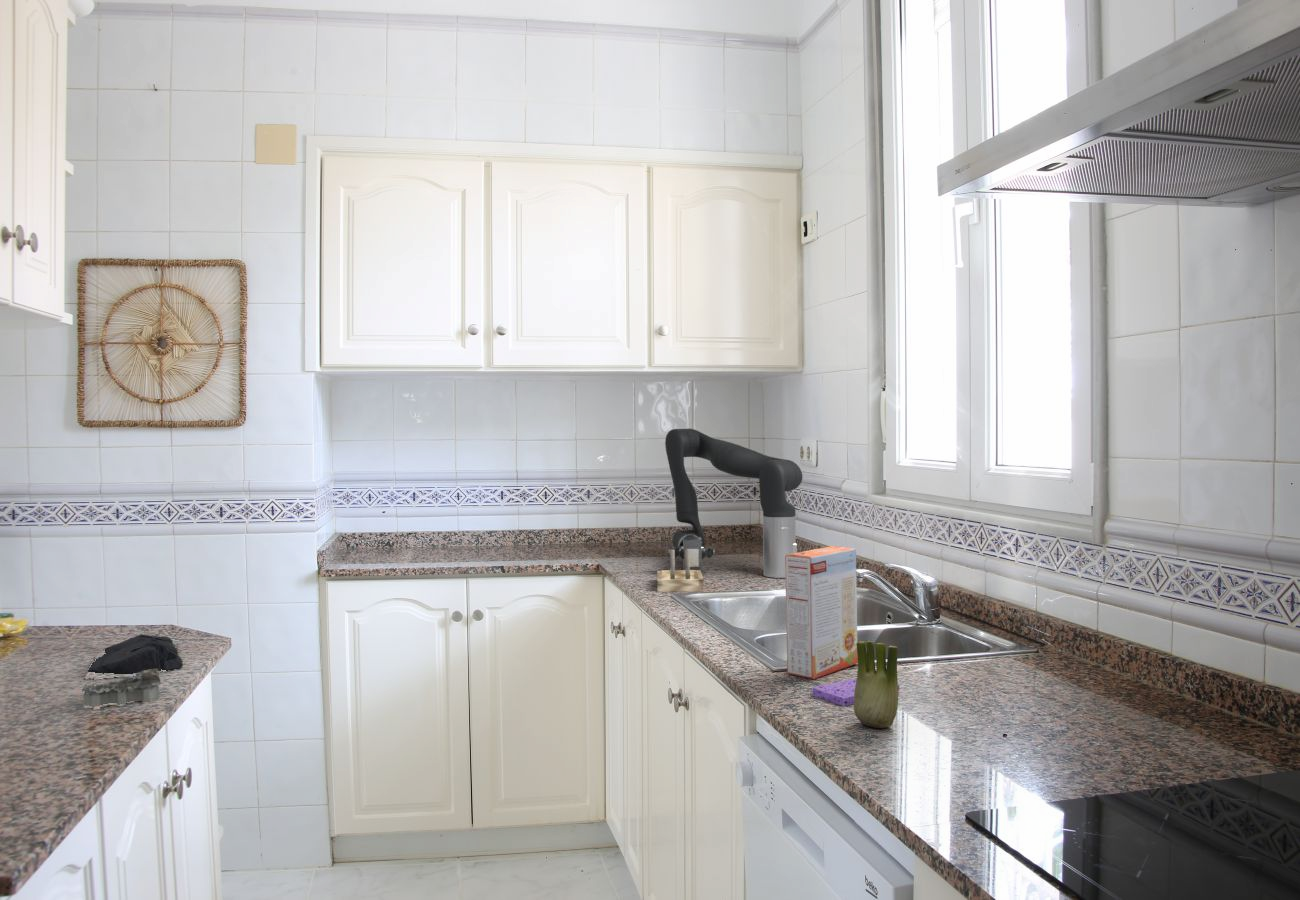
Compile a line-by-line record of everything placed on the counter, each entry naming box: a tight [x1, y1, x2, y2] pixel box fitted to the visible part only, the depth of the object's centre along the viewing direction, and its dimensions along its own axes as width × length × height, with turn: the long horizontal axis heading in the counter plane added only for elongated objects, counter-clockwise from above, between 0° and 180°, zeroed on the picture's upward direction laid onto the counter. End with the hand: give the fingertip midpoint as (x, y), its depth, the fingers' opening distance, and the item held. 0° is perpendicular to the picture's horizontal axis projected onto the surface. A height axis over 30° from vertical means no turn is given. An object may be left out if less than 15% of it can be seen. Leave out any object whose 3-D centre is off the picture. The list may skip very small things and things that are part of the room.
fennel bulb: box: [853, 640, 899, 729], centre depth 127 cm, size 6×5×12 cm
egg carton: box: [81, 668, 162, 707], centre depth 141 cm, size 11×8×4 cm
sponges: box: [811, 677, 900, 707], centre depth 142 cm, size 7×13×2 cm, turn 124°
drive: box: [682, 537, 703, 574], centre depth 256 cm, size 5×7×11 cm
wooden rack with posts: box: [656, 549, 705, 593], centre depth 241 cm, size 12×16×10 cm
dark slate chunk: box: [87, 634, 184, 674], centre depth 165 cm, size 15×22×5 cm
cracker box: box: [784, 545, 858, 680], centre depth 156 cm, size 14×6×21 cm, turn 135°
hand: (692, 555), depth 253 cm, fingers closed on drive, 5 cm apart
